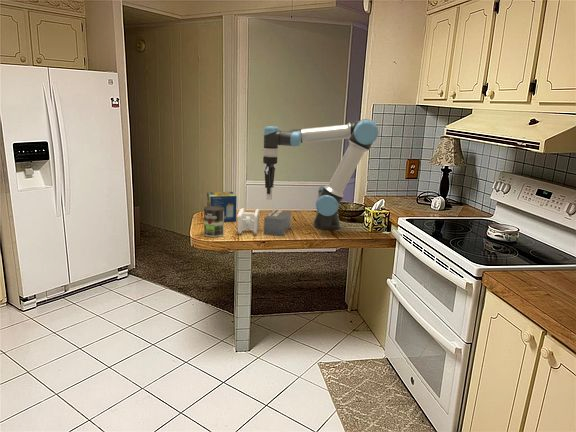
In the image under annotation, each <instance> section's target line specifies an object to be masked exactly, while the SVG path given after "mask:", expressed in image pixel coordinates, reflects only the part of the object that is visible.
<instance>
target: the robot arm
mask: <svg viewBox="0 0 576 432" xmlns="http://www.w3.org/2000/svg"><path fill="white" fill-rule="evenodd" d="M263 130H264V131H263V149H262V151H263V158H262V159H263V160H262V163H263V164H265V165H266V166H265V170H264V172H263V174H264V183H265V184H264V188H265V190H266V193H265V194H266V195H265V196H266V197H265V199H266V200H267V201H268V200H269V201H272V199H273V188H274V182H275V181H274V179H275V175H276V174H275V173H276V167H275V165H277V163H278V153H279V148H278V147H279V146H284V147H300V146H301V144H304V143H315V142H324V141H325V142H326V141H335V140H336V141H337V140H347V139H348V143H349V144H348V146H347V149H346V151H345V152H344V154H343V156H342V158H341V159H340V162H339V164H338V165H337V167H336V170H335V171H334V173H333V175H332V176H331V178H330V181H329V182H328V184H327V185H324V186H319V187H318V190H317V191H318V194H317V199H316V201H315V209H316V215H315V218H314V219H313V224H312V225H313V227H315V228H316V229H320V230H326V231H327V230H331V231H332V230H337V229H340V228H341V227H340V226H341V223H340V222H341V221H340V218H339V206H340V204H341V202H342V201H343V199H344V191H345V189H346V187H347V185H348V184H349V181H350V179H351V178H352V176H353V174H354V172H355V171H356V168H357V167H358V165H359V163H360V161H361V159H362V157H363V156H364V154H365V152H368V151H370V149H371V147H372V145H373V143H374V142H375V141H376V140H377V138H378V136H379V128H378V125H377V124H376V123H375V122H374V121H373V120H370V119H368V118H365V119H363V118H362V119H361V120H356V121H351V122H348V123H345V124H338V125H328V126H326V125H325V126H318V127H308V128H299V129H298V128H297V129H296V128H295V129H294V128H293V129H290V130H280V129H279V127H278V126H272V125H271V126H269V125H268V126H265V127H264V129H263Z"/></svg>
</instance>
